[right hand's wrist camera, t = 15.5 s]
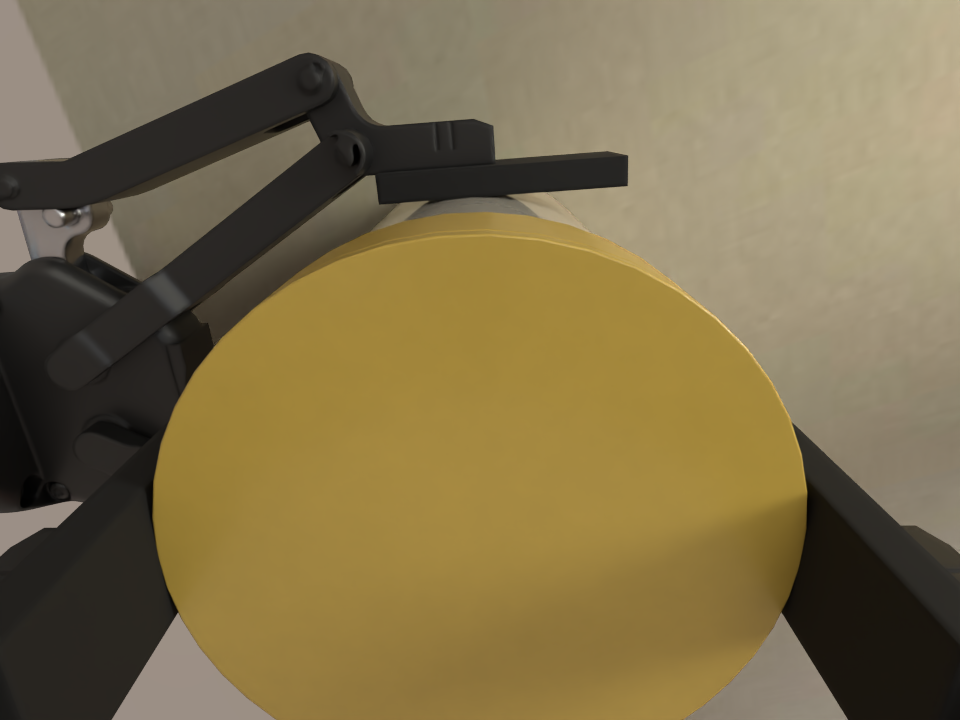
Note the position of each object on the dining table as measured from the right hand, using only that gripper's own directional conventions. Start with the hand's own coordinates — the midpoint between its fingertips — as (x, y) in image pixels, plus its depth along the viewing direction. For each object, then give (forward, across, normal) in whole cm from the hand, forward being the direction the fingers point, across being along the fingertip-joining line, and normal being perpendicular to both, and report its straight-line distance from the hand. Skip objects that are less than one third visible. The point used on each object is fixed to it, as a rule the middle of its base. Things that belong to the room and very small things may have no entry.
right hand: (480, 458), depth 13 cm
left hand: (+6, -4, 0) cm, 7 cm away
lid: (-3, 0, 0) cm, 3 cm away
